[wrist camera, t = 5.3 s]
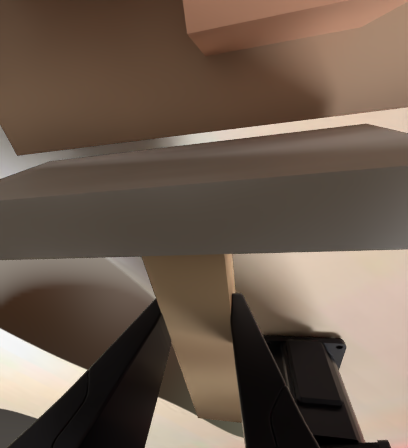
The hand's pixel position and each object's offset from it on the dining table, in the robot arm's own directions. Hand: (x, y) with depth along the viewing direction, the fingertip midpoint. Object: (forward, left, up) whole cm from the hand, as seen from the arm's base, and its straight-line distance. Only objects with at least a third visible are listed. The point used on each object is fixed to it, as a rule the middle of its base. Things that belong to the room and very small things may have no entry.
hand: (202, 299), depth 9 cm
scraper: (-1, 0, -2) cm, 2 cm away
